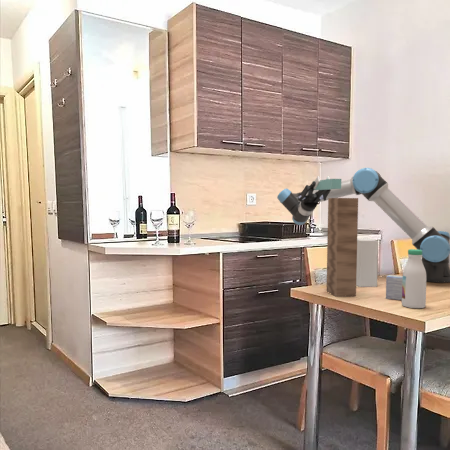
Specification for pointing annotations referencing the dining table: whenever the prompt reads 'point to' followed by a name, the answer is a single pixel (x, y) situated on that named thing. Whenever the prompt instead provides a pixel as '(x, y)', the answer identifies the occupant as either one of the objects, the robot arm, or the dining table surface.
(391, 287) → the medicine box
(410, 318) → the dining table surface
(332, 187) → the teal bar
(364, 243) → the grey block
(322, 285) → the dining table surface
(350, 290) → the walnut stand
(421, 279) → the milk bottle
